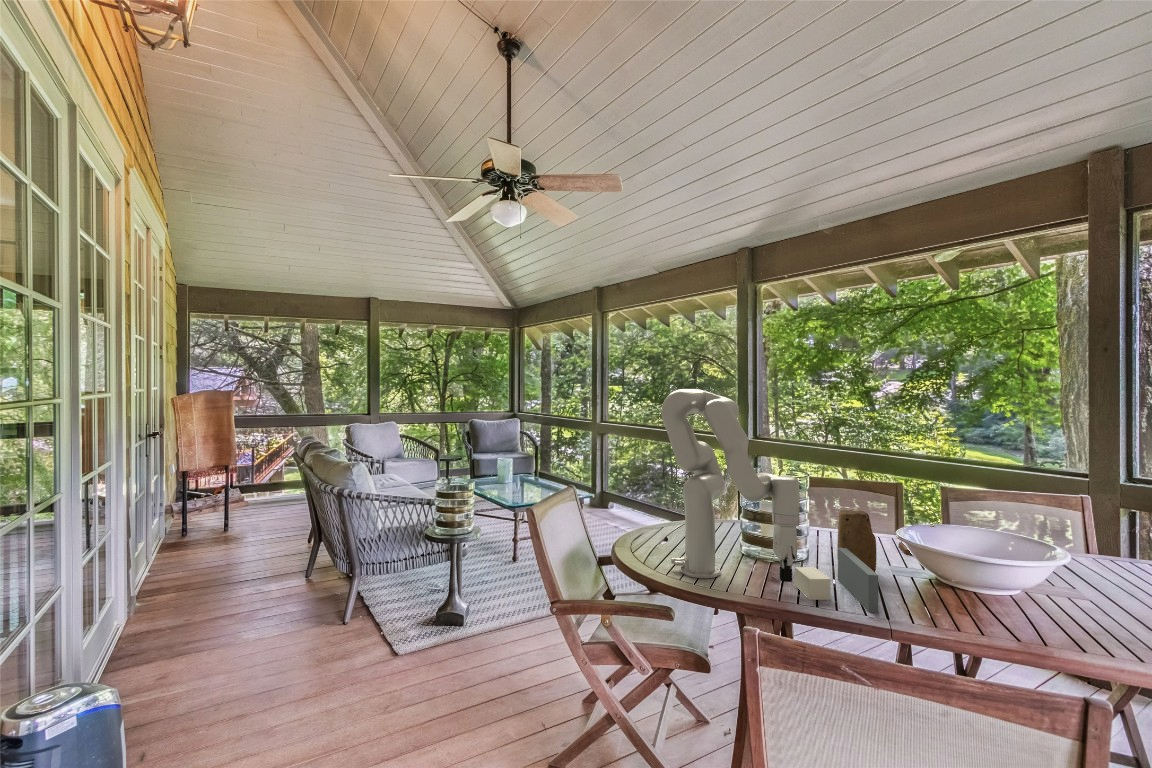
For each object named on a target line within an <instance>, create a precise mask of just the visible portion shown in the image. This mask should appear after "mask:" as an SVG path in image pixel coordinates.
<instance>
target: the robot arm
mask: <svg viewBox="0 0 1152 768" xmlns="http://www.w3.org/2000/svg"><path fill="white" fill-rule="evenodd" d="M660 411H661V419H662V422H663V426H664V428H665V430H666V431H665V432H666V433H667V436H668V439H669V443H670V445H671V449H672V452H673V454H674V458H675V460H676V464H677V465H678V467H679V469H681V470H682V471H683V472H688V473H691V472H693V474H694V475H693V476H690V477H689V478H688V479H687V480H686V481H685V482H684V484H683V487H682V498H683V505H684V521H685V522H684V523H685V524H684V525H685V526H684V528H685V529H684V530H685V531H684V535H685V537H684V538H685V539H684V540H685V541H684V542H685V543H684V545H685V550H684V551H685V552H684V553H685V554H683V556H680V557H679V558H678V557H671V559H670V563H671V564H672V565H674V564H675V565H674V566H678V567H680V572H681V573H682V574H683V575H685V576H687V577H691V578H695V579H713V578H716V577H718V576H720V575H721V569H720V568H719V567H718V566H717V565H716V514H715V509H714V504H713V502H714V501H715V500H718V499H720V497H722V495H723V494H725V493H724V492H725V490H726V482H725V480H724V479H725V478H724V476H723V472H722V470H721V467H720V464H719V461H718V459H717V456H716V453H715V452H714V448H712V446H711V445H710V444H708V443H707V442H705V441H701V440H698V439H697V437H696V436H697V435H695V431H694V428H693V426H692V424H691V423H690V420H688V417H687V416H688V415H699V416H701V417H704V418H705V419H704V420H706V423H707V424H708V426H709V428H710V429H711V431H712V433H713V435H714V436H715V438H716V440H717V442H718V443H719V445H720V447H721V449H722V451H723V455H724V456H723V457H724V461H725V465H726V469H727V471H728V474H729V476H730V478H731V480H732V481H733V484H734V485H735V487H736V489H737V490H738V492H739V494H740V495H741V496H742V497H743V499H745V500H746V501H749V502H759V501H762V500H763V499H767V498H771V522H772V523H771V524H773V537H772V539H773V540H772V552H773V554H774V555H775V556H776V557H777V559H778V560H779V581H780V582H784V583H791V582H792V583H793V561H794V562H795V561H796V560H797V558H798V537H797V534H798V533H797V527H798V526H800V481H799V480H798V478H797V477H795V476H790V475H776V474H772V473H767V472H757V473H756V470H755V469H754V467H753V465H752V463H751V460H750V458H749V457H750V456H749V454H748V453H749V451H748V449H749V443H750V441H749V436H748V435H747V434H746V432H745V430H744V429H743V427H742V425H741V424H740V422H739V421H738V418H739V415H740V410H739V406H738V404H737V403H736V402H735V401H734V400H733V399H731V398H730V397H729V398H728V397H725V396H721V395H718V394H715V393H713V392H709V391H706V390H702V389H698V388H682V389H681V388H680V389H677V390H674V391H672V392H671V393H669V394H668V395H667V396H666V398H664V401H663V403H662V406H661V410H660Z"/></svg>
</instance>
